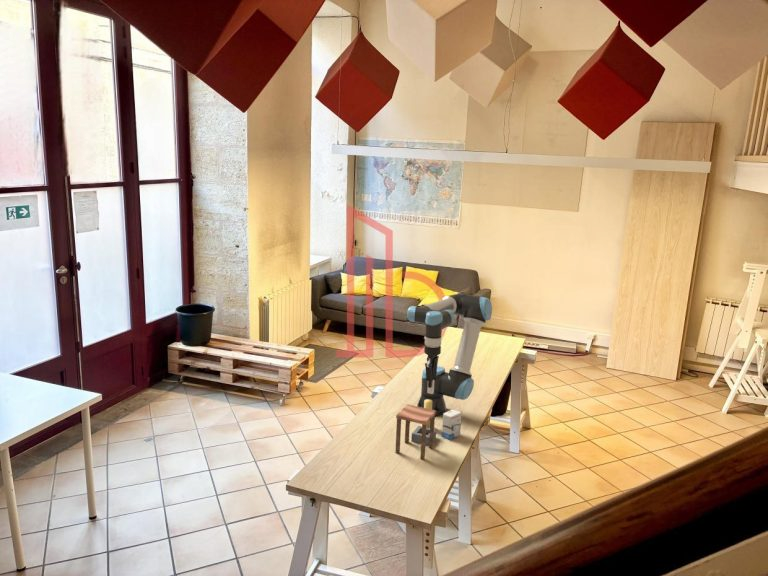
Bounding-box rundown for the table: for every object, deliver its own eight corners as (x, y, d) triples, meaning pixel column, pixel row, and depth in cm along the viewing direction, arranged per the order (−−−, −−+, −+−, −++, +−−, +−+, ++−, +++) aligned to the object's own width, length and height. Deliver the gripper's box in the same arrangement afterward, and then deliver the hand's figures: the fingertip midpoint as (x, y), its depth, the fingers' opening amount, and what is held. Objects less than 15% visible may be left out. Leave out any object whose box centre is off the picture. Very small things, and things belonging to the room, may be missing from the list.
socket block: (418, 433, 289) (418, 425, 288) (435, 437, 285) (436, 429, 284) (411, 441, 281) (411, 433, 280) (429, 445, 277) (429, 437, 276)
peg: (424, 424, 298) (425, 398, 295) (432, 426, 296) (433, 400, 293) (421, 428, 294) (423, 401, 291) (429, 429, 293) (430, 403, 290)
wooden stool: (405, 440, 281) (407, 404, 277) (433, 447, 275) (435, 410, 271) (394, 452, 269) (396, 415, 265) (423, 460, 264) (425, 421, 260)
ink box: (449, 440, 283) (450, 417, 280) (441, 436, 287) (442, 413, 284) (460, 434, 289) (462, 412, 286) (452, 431, 292) (453, 408, 290)
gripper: (429, 339, 281) (427, 386, 287) (420, 348, 269) (418, 396, 275) (444, 342, 278) (442, 389, 284) (436, 350, 266) (433, 399, 272)
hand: (430, 392), depth 279 cm, fingers closed
